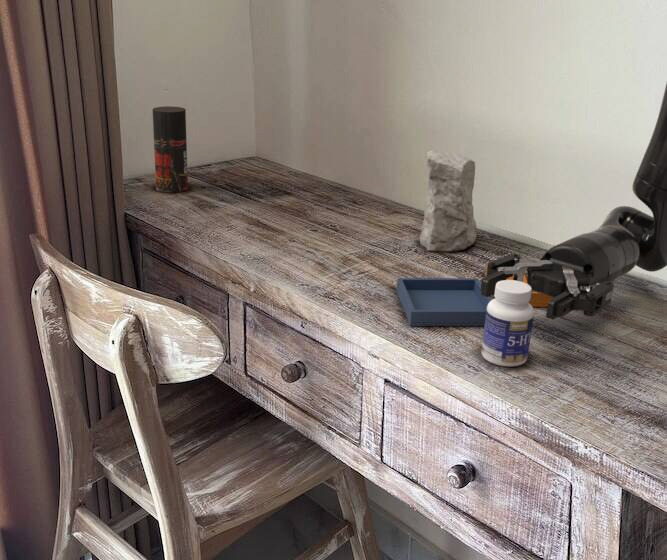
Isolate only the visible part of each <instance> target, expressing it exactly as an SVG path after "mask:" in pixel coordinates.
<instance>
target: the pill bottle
mask: <svg viewBox="0 0 667 560" xmlns="http://www.w3.org/2000/svg"><path fill="white" fill-rule="evenodd" d="M531 291H532V288H531V286H530V285H528V284H526V283H524V282H520V281H516V280H502V281H499V282H497V283H496V287H495V294H493V296H494V298H493V299H492V300H491V301H490V302H489V303H488V305H487V310H486V318H485V326H483V333H482V334H483V335H482V341H481V342H482V343H481V356H482V357H483V358H484V360H486V361H488V362H489V363H491V364H494V365H496V366H497V365H498V366H500V367H518V366H521V365H523V364H525V363H526V362H527V360H528V356H529V351H530V350H529V349H530V343H531V338H532V331H533V324H534V316H535V309H534V307H532V306H531V305H530V304H529V303H528V302H529V301H530V298H531Z"/></svg>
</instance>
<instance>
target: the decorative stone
mask: <svg viewBox="0 0 667 560" xmlns="http://www.w3.org/2000/svg"><path fill="white" fill-rule="evenodd" d="M426 167H427V169H428V186H427V187H428V188H427V196H426V200H425V205H424V211H423V215H424V217H423V221H422V227H421V232H420V235H419V242H420V245H421V246H422V247H424V248H425V249H426V251H427V252H433V253H434V252H440V253H441V252H447V253H448V252H460V251H465V250H466V249H467V248H469V247H471V246H472V245H473V244H474V243H475V242H476V239H477V232H476V229H477V222H476V219H475V217H474V205H473V191H474V186H475V175H476V161H474V160H472V158H470V157H467V156H463V155H461V154H454V153H446V152H438V151H434V150H433V149H430V150H429V151H427V152H426Z"/></svg>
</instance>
